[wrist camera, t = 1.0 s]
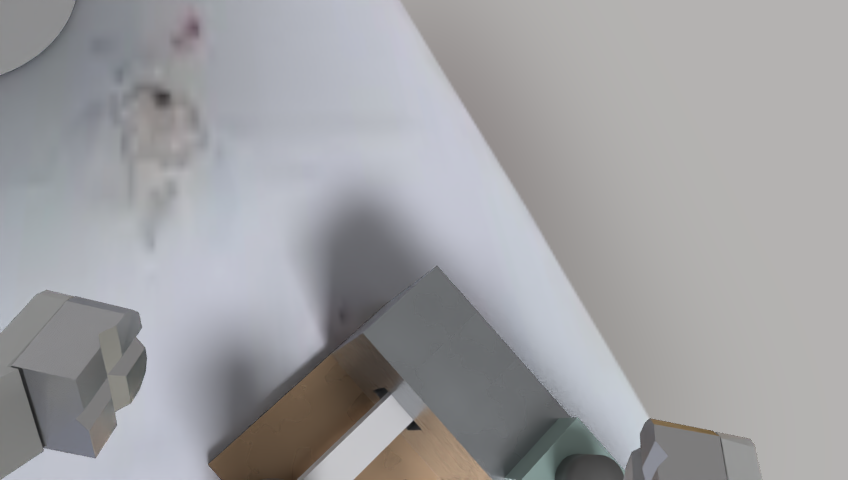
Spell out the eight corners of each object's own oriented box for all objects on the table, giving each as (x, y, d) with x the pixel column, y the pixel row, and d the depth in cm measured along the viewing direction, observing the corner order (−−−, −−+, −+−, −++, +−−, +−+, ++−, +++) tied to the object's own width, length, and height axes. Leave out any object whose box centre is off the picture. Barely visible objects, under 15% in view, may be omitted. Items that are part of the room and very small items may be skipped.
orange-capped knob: (208, 519, 41) (208, 547, 30) (374, 364, 45) (422, 344, 35) (264, 584, 41) (283, 633, 30) (425, 422, 45) (488, 419, 35)
